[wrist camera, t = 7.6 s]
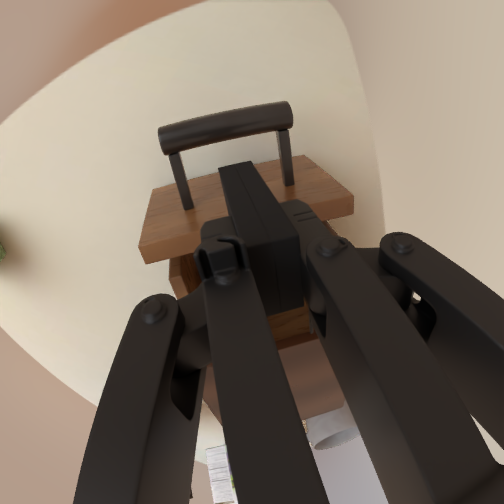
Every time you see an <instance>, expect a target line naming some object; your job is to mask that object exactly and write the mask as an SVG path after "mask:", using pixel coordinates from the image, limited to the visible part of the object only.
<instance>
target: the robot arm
mask: <svg viewBox="0 0 504 504" xmlns="http://www.w3.org/2000/svg"><path fill="white" fill-rule="evenodd" d="M218 170H219V175H220V179H221V184H222V188H223V193H224V197H225V202H226V206H227V210H228V215H229V216H226V217H222V218H218V219H214V220H210V221H206V222H204V224H203V226H202V227H201V229H200V237H201V244H199V246H198V247H197V248H196V249H195V251H194V255H193V257H194V260H195V263H196V266H197V269H198V272H199V275H200V278H201V280H202V283H201V284H200V285H199V287H198V288H196V289H195V290H194V291H193V292H191V293H190V294H188V295H186V296H184V297H182V298H180V299H178V300H176V299H175V298H174V297H173V296H171V295H169V294H156V295H152V296H149V297H147V298H145V299H143V300H142V301H141V302H140V303H139V304H138V305H136V307H135V308H134V310H133V312H132V314H131V316H130V319H129V321H128V324H127V326H126V329H125V331H124V334H123V336H122V339H121V342H120V344H119V347H118V350H117V352H116V355H115V358H114V361H113V364H112V366H111V369H110V372H109V375H108V378H107V381H106V384H105V387H104V390H103V393H102V396H101V399H100V402H99V405H98V408H97V412H96V415H95V418H94V422H93V425H92V429H91V432H90V436H89V439H88V443H87V447H86V450H85V454H84V458H83V462H82V466H81V470H80V474H79V479H78V483H77V487H76V492H75V497H74V501H73V504H189V499H190V490H191V482H192V473H193V466H194V458H195V450H196V442H197V435H198V427H199V420H200V413H201V405H202V398H203V392H204V385H205V378H206V371H207V365H208V364H210V363H212V365H213V372H214V378H215V385H216V391H217V397H218V403H219V409H220V415H221V421H222V426H223V432H224V437H225V443H226V448H227V453H228V458H229V463H230V468H231V473H232V478H233V483H234V487H235V492H236V496H237V501H238V504H330V503H329V501H328V497H327V495H326V491H325V488H324V486H323V483H322V480H321V477H320V474H319V471H318V468H317V465H316V462H315V459H314V456H313V453H312V451H311V447H310V445H309V442H308V439H307V436H306V433H305V430H304V427H303V424H302V421H301V418H300V415H299V412H298V409H297V406H296V403H295V400H294V397H293V394H292V391H291V388H290V385H289V382H288V379H287V376H286V373H285V370H284V367H283V364H282V361H281V358H280V355H279V352H278V349H277V346H276V343H275V340H274V337H273V334H272V331H271V328H270V325H269V322H268V319H267V317H268V316H271V315H275V314H279V313H282V312H286V311H290V310H293V309H297V308H300V307H304V297H305V299H306V301H307V303H308V307H309V330H310V334H312V333H313V327H314V329H315V331H316V334H317V336H318V338H319V340H320V342H321V345H322V347H323V349H324V351H325V354H326V356H327V358H328V360H329V363H330V365H331V367H332V369H333V372H334V374H335V376H336V378H337V381H338V383H339V385H340V388H341V390H342V392H343V395H344V397H345V399H346V401H347V404H348V406H349V408H350V411H351V413H352V415H353V418H354V420H355V422H356V425H357V427H358V430H359V432H360V434H361V437H362V438H363V441H364V444H365V446H366V449H367V451H368V453H369V456H370V458H371V461H372V463H373V465H374V468H375V470H376V473H377V475H378V478H379V480H380V483H381V485H382V488H383V490H384V493H385V495H386V498H387V500H388V503H389V504H504V465H501V464H499V463H498V462H497V461H495V459H494V458H493V456H492V454H491V453H490V450H489V449H488V446H487V445H486V443H485V441H484V439H483V437H482V435H481V433H480V431H479V429H478V427H477V426H476V424H475V422H474V420H473V419H472V417H471V415H472V416H473V417H474V418H475V419H476V420H477V422H478V423H479V424H480V425H481V426H482V427H483V428H484V429H485V430H486V431H487V432H488V433H489V434H490V435H491V437H492V438H493V439H494V440H495V441H496V442H497V443H498V444H499V445H500V447H502V449H503V450H504V299H502V298H501V297H500V296H499V295H497V294H496V293H495V292H494V291H492V290H491V289H490V288H488V287H487V286H486V285H484V284H483V283H482V282H480V281H479V280H478V279H476V278H475V277H474V276H472V275H471V274H469V273H468V272H467V271H465V270H464V269H463V268H461V267H460V266H458V265H457V264H456V263H454V262H453V261H451V260H450V259H448V258H447V257H445V256H444V255H443V254H441V253H440V252H438V251H437V250H435V249H434V248H432V247H431V246H429V245H427V244H426V243H425V242H423V241H422V240H420V239H418V238H417V237H415V236H413V235H411V234H408V233H403V232H393V233H390V234H386V235H385V236H384V237H383V238H382V239H381V242H380V247H379V248H355V247H354V246H353V245H352V244H351V242H349V241H348V240H347V239H346V238H343V237H340V236H336V235H332V234H331V232H330V231H329V230H328V229H327V227H326V226H325V225H324V224H323V222H322V221H321V220H320V219H319V217H317V215H316V214H315V212H313V210H312V209H311V208H310V206H309V205H308V204H307V203H305V202H303V201H301V200H298V199H295V200H290V201H286V202H281V203H279V202H278V201H277V199H276V198H275V196H274V195H273V193H272V192H271V190H270V189H269V187H268V186H267V184H266V183H265V181H264V180H263V178H262V177H261V175H260V174H259V172H258V171H257V169H256V168H255V166H254V165H253V163H252V162H251V161H247V162H242V163H238V164H233V165H229V166H225V167H220V168H218ZM414 292H415V293H416V294H418V295H419V296H420V297H421V300H420V301H419V300H416V299H415V298H413V294H414ZM470 414H471V415H470Z"/></svg>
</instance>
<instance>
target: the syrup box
mask: <svg viewBox="0 0 504 504" xmlns="http://www.w3.org/2000/svg"><path fill="white" fill-rule="evenodd" d="M206 455H207V463H208V469H209V476H210V482H211V488H212V494H213V500H214V504H238V501H237V496H236V492H235V487H234V483H233V478H232V473H231V468H230V463H229V458H228V453H227V448H226V445H223V446H219V447H215V448H211V449H206Z"/></svg>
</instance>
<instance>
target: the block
mask: <svg viewBox="0 0 504 504" xmlns="http://www.w3.org/2000/svg"><path fill="white" fill-rule="evenodd" d="M5 254H6V252H5V250H4V249H3V247H2V245H1V243H0V261H1V260H2V259H3V257H4V256H5Z"/></svg>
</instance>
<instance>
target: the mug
mask: <svg viewBox="0 0 504 504" xmlns="http://www.w3.org/2000/svg"><path fill="white" fill-rule="evenodd" d="M306 425H307V433H306V436H307V439H308V442H311V444H312V446H313V448H314V449H316V450H323V449H328V448H332V447H336V446H339V445H341V444H344V443H346V442H348V441H350V440H352V439H354V438H356V437H357V436H359V435H360V432H359V430H358V427H357V425H356V422H355V420H354V418H353V415H352V413H351V411H350V408H349V406H348V404H347V401H346V399H345V401H344V406H343V407H342V408H339V409H336V410H333V411H330V412H327V413H324V414H321V415H318V416H315V417H312V418H309V419H306Z"/></svg>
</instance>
